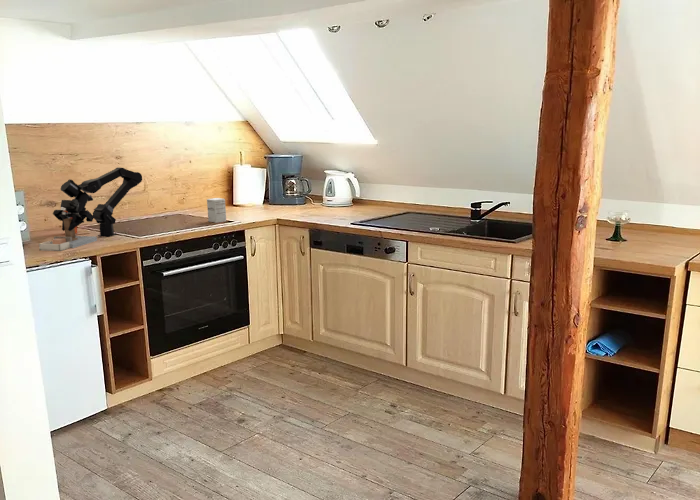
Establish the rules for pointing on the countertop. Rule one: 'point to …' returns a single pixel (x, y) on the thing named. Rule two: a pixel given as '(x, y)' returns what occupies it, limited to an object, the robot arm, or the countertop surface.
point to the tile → (59, 240)
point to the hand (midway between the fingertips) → (66, 230)
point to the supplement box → (216, 210)
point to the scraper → (68, 234)
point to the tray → (53, 246)
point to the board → (81, 241)
